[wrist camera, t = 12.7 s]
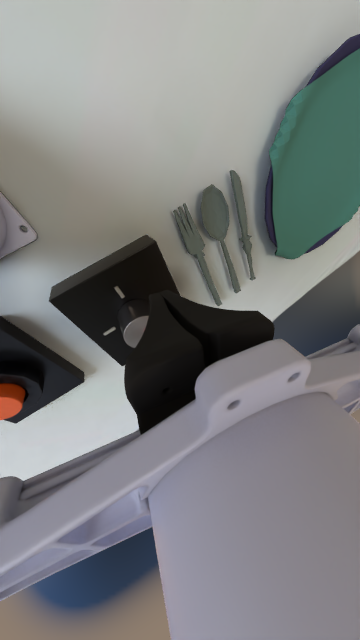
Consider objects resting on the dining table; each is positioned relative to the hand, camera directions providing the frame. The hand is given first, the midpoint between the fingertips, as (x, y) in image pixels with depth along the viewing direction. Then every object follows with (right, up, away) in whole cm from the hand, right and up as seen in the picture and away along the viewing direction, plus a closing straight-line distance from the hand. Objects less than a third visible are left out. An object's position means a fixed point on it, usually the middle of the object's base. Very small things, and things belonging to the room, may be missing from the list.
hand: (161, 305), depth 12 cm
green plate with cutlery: (+15, +15, +11) cm, 24 cm away
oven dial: (-4, 0, +8) cm, 9 cm away
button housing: (-19, -7, +9) cm, 22 cm away
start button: (-17, -9, +7) cm, 21 cm away
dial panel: (-5, +1, +11) cm, 12 cm away
